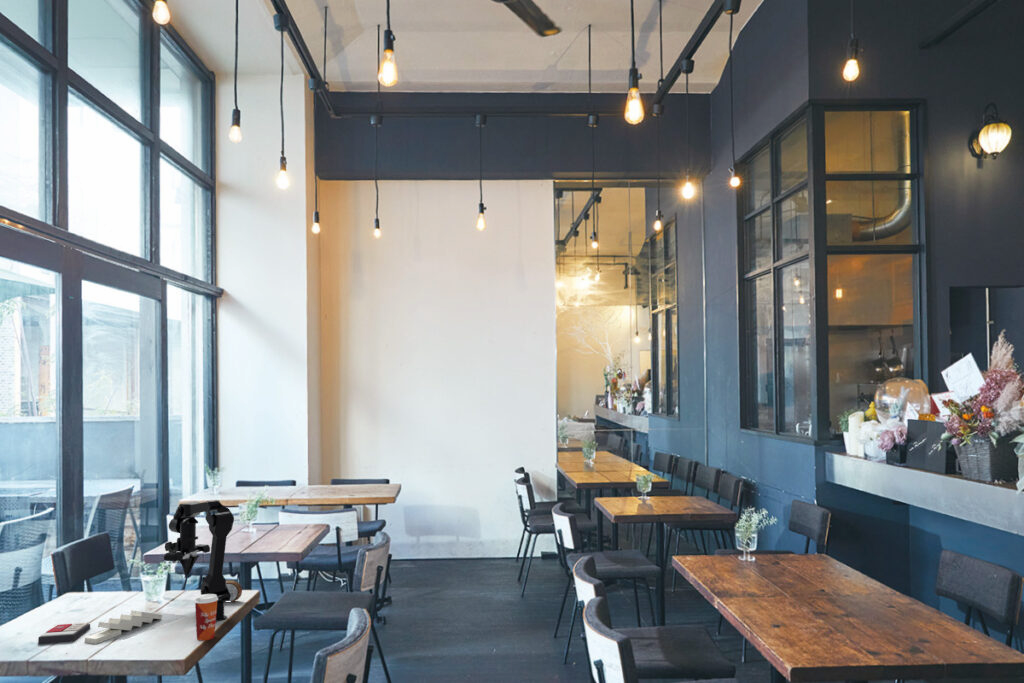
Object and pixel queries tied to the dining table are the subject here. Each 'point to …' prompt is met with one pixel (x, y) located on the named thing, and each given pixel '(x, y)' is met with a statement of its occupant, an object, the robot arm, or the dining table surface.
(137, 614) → the domino
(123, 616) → the domino
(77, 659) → the dining table surface
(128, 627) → the domino
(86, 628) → the black and red box
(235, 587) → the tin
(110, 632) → the domino
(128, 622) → the domino
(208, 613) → the paper cup
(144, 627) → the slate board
